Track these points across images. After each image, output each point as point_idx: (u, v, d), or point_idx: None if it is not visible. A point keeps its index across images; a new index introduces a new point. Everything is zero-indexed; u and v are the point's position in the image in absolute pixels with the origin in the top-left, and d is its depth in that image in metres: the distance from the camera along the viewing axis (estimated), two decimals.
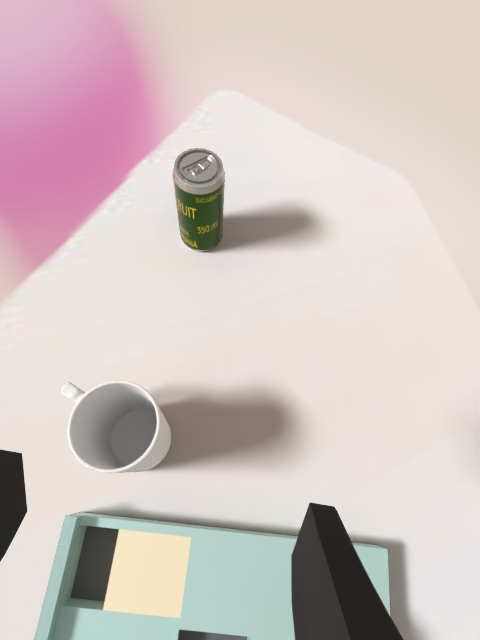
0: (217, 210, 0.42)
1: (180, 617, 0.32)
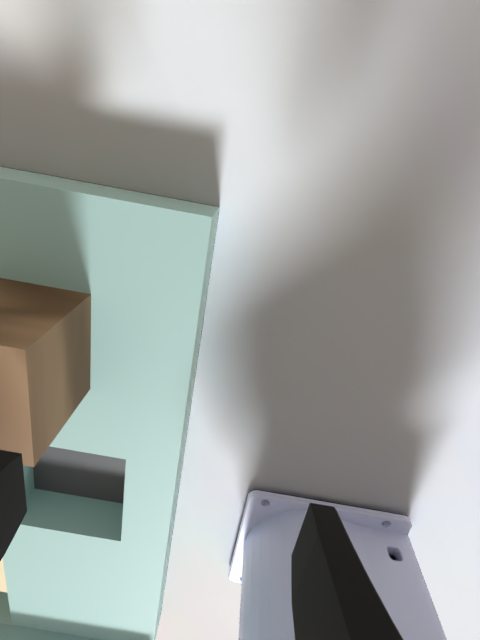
0: None
1: None
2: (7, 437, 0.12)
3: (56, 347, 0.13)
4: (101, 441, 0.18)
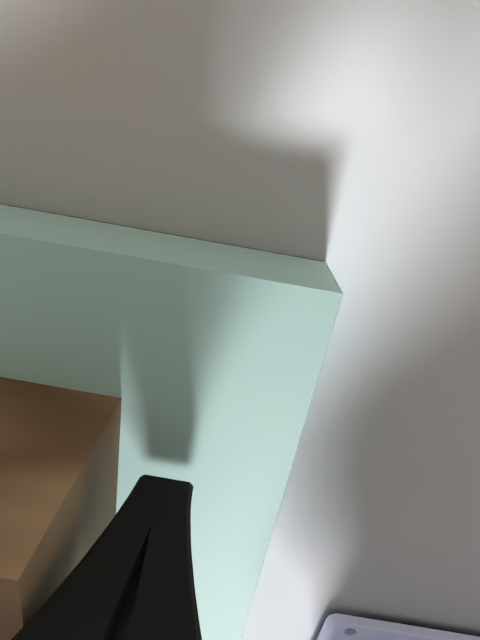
0: None
1: None
2: None
3: (72, 517, 0.08)
4: None
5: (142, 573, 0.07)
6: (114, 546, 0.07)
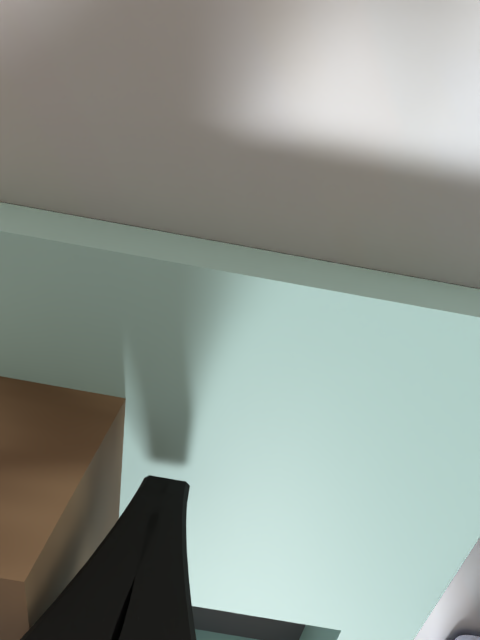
0: None
1: None
2: None
3: (77, 518, 0.08)
4: (313, 610, 0.13)
5: (137, 572, 0.07)
6: (120, 547, 0.07)
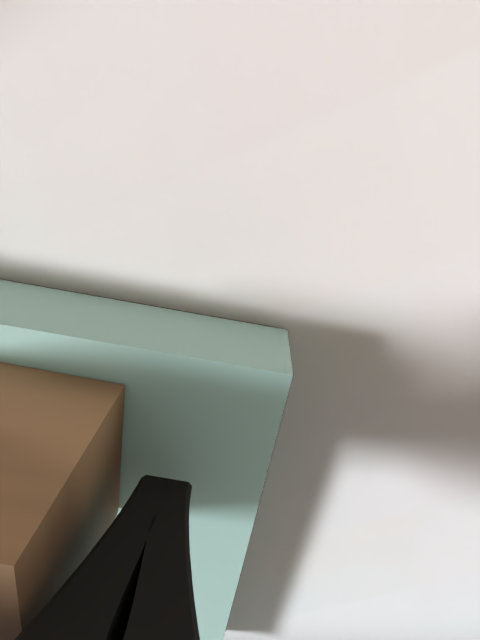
0: None
1: None
2: None
3: None
4: None
5: (140, 573, 0.07)
6: (116, 546, 0.07)
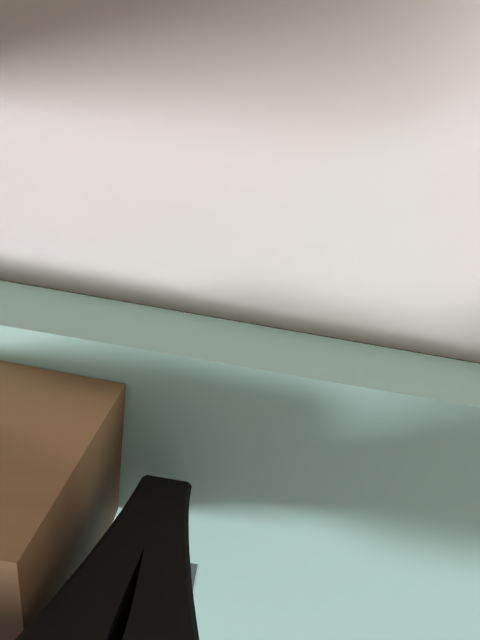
0: None
1: None
2: None
3: None
4: None
5: (140, 573, 0.07)
6: (117, 546, 0.07)
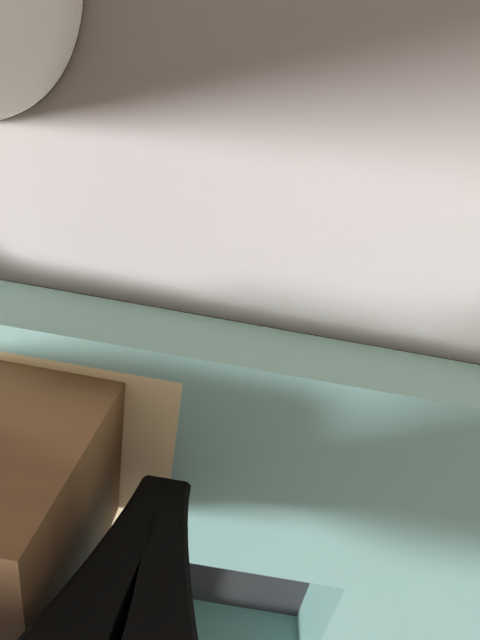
0: None
1: None
2: None
3: None
4: None
5: (139, 572, 0.07)
6: (118, 547, 0.07)
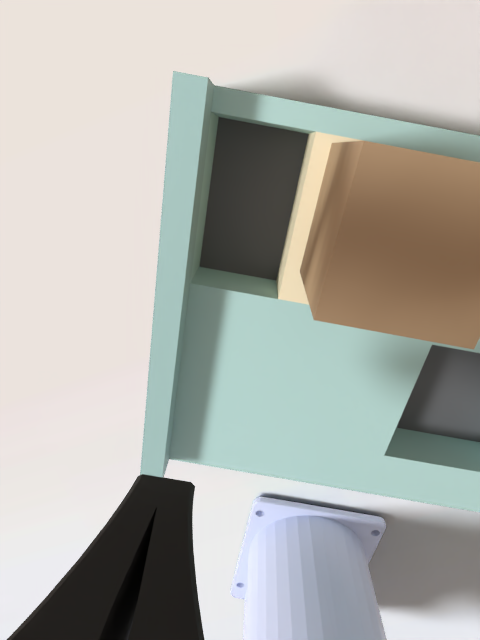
0: None
1: None
2: (361, 300, 0.10)
3: None
4: None
5: (144, 574, 0.07)
6: (111, 546, 0.07)
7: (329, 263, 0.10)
